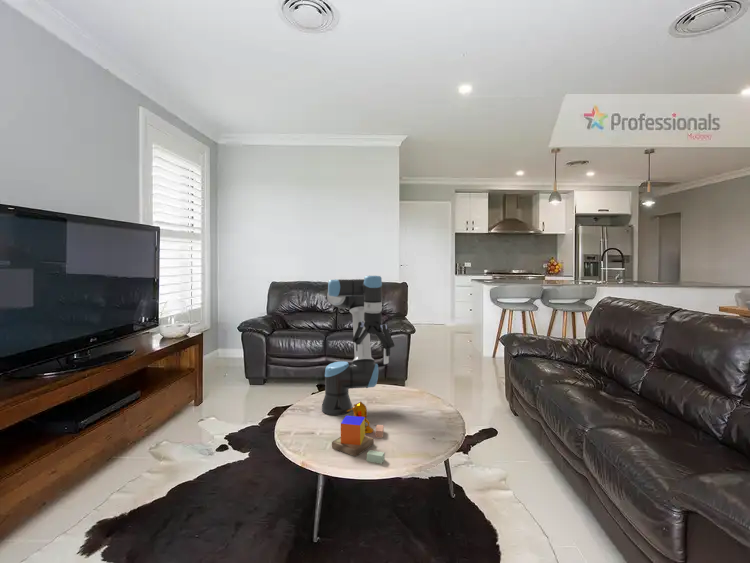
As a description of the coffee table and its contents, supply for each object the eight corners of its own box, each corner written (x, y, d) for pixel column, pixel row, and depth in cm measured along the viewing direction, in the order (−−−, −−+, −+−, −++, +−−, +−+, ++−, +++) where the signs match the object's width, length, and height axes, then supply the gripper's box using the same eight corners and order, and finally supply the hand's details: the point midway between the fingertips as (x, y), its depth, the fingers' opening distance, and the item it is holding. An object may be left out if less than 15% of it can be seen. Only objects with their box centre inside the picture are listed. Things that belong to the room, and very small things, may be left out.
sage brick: (366, 461, 145) (366, 453, 145) (369, 457, 148) (369, 449, 148) (381, 464, 143) (381, 456, 143) (384, 460, 146) (384, 452, 146)
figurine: (354, 424, 178) (354, 398, 177) (376, 428, 174) (376, 401, 173) (346, 431, 170) (346, 405, 169) (368, 436, 166) (369, 408, 165)
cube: (364, 436, 160) (364, 417, 159) (360, 445, 152) (360, 425, 152) (346, 434, 162) (346, 415, 161) (340, 443, 154) (340, 423, 153)
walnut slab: (331, 447, 155) (331, 441, 155) (350, 436, 165) (350, 430, 165) (355, 456, 149) (355, 449, 148) (373, 444, 158) (373, 437, 158)
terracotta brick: (382, 438, 165) (382, 431, 164) (375, 437, 165) (375, 430, 165) (383, 431, 170) (383, 425, 170) (376, 431, 171) (376, 424, 171)
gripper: (344, 310, 169) (344, 358, 171) (393, 315, 155) (393, 367, 157) (354, 308, 176) (354, 355, 177) (402, 313, 162) (402, 363, 163)
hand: (372, 361), depth 167 cm, fingers open, 13 cm apart
